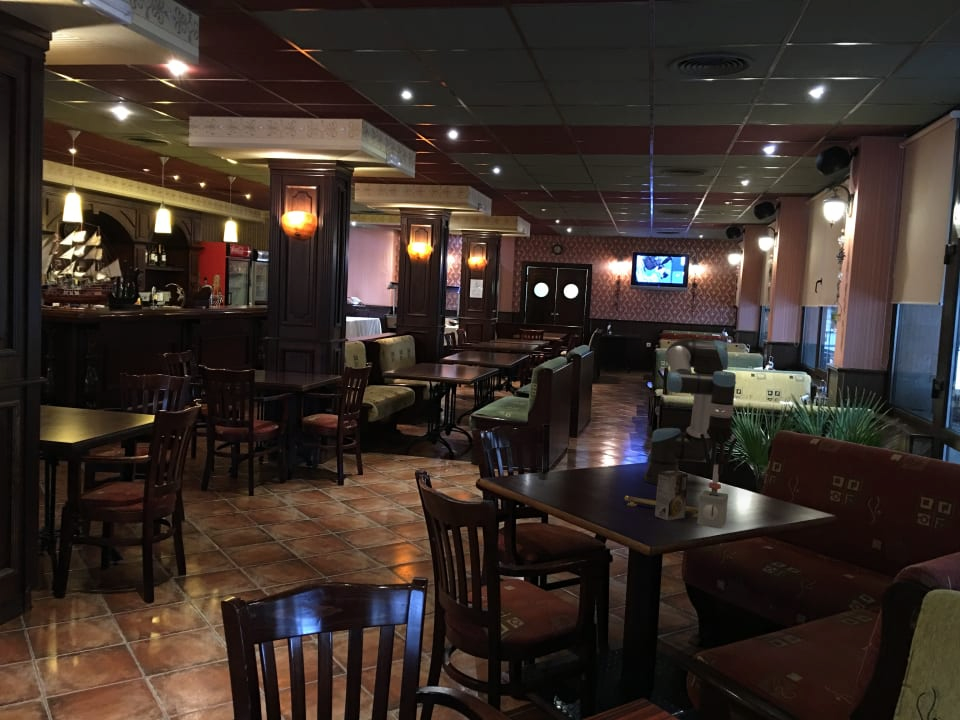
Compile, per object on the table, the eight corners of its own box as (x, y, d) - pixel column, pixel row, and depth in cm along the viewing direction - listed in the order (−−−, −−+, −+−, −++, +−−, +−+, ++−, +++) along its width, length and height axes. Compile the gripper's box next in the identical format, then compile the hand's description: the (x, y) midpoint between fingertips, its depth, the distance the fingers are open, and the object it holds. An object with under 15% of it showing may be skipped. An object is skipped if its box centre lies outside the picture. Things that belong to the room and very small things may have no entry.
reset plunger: (708, 496, 267) (710, 482, 267) (720, 498, 265) (721, 484, 265) (706, 499, 263) (708, 484, 263) (718, 500, 262) (720, 486, 261)
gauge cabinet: (702, 517, 271) (705, 490, 270) (725, 521, 268) (728, 494, 267) (696, 524, 262) (699, 496, 261) (720, 528, 258) (723, 500, 257)
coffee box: (671, 513, 274) (675, 469, 273) (685, 518, 269) (689, 473, 268) (653, 515, 269) (657, 471, 268) (667, 520, 264) (671, 475, 263)
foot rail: (623, 504, 283) (623, 495, 283) (624, 502, 286) (625, 494, 285) (705, 518, 270) (705, 509, 270) (706, 517, 272) (707, 508, 272)
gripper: (699, 414, 262) (693, 481, 264) (739, 419, 256) (732, 488, 258) (703, 412, 269) (698, 478, 270) (742, 417, 263) (736, 484, 264)
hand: (715, 482), depth 264 cm, fingers closed
